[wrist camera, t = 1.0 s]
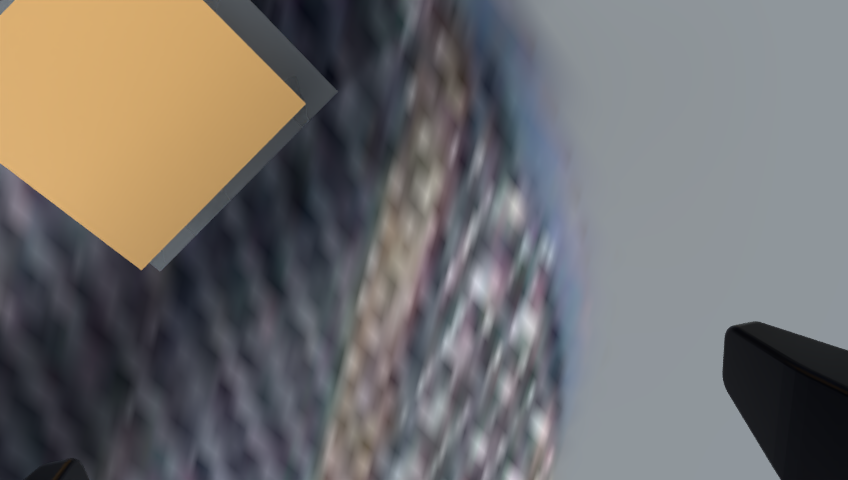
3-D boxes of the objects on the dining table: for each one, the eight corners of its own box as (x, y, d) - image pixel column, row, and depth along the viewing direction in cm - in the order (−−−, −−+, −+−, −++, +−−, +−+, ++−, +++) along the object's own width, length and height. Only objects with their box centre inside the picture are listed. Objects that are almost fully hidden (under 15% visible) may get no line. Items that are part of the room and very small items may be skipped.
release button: (162, 205, 17) (141, 269, 12) (10, 80, 15) (-83, 99, 11) (282, 85, 17) (306, 104, 12) (142, -55, 15) (108, -95, 11)
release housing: (173, 218, 20) (160, 271, 16) (-5, 72, 18) (-83, 84, 13) (311, 79, 20) (337, 91, 16) (151, -86, 18) (127, -128, 13)
